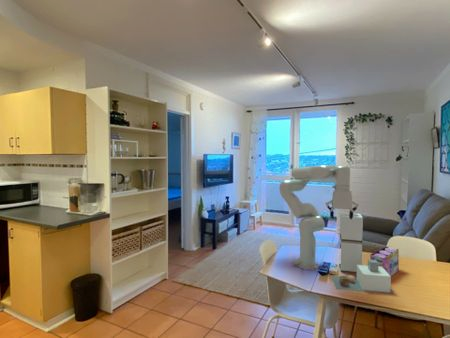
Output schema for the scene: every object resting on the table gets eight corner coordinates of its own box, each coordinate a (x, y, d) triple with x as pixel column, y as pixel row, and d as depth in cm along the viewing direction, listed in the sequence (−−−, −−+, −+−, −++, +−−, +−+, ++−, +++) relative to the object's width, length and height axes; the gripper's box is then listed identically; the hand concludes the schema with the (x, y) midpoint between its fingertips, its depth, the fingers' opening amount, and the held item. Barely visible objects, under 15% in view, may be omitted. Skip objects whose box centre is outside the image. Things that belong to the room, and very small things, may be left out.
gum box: (386, 266, 177) (386, 245, 177) (399, 270, 171) (400, 249, 171) (369, 276, 162) (369, 254, 162) (383, 281, 156) (384, 258, 156)
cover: (363, 290, 144) (363, 264, 143) (356, 279, 157) (357, 256, 156) (390, 292, 141) (391, 266, 141) (381, 281, 154) (382, 257, 154)
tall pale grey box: (358, 268, 173) (359, 213, 172) (361, 275, 163) (362, 217, 162) (339, 266, 177) (340, 212, 175) (340, 273, 167) (341, 216, 165)
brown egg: (348, 282, 152) (348, 277, 152) (346, 280, 156) (346, 274, 156) (355, 283, 152) (355, 278, 151) (353, 280, 155) (353, 275, 155)
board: (336, 290, 145) (336, 288, 145) (331, 277, 161) (331, 276, 161) (394, 296, 140) (395, 294, 140) (383, 282, 155) (383, 280, 155)
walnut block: (340, 286, 149) (341, 278, 148) (339, 282, 152) (339, 275, 152) (348, 286, 148) (349, 279, 148) (347, 283, 152) (347, 276, 152)
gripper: (327, 188, 152) (326, 219, 153) (360, 189, 148) (359, 220, 149) (324, 186, 159) (324, 216, 160) (357, 187, 156) (356, 217, 157)
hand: (341, 218), depth 155 cm, fingers open, 9 cm apart
